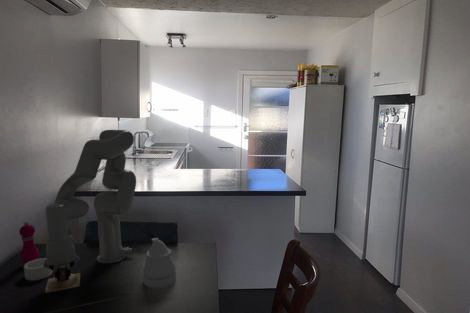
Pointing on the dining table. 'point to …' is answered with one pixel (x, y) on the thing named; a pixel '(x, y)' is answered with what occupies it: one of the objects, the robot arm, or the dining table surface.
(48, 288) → the mat
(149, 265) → the honey pot
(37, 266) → the bowl
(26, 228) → the pepper mill
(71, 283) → the lid
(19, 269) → the dining table surface
